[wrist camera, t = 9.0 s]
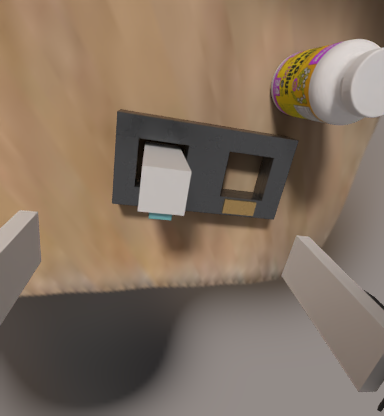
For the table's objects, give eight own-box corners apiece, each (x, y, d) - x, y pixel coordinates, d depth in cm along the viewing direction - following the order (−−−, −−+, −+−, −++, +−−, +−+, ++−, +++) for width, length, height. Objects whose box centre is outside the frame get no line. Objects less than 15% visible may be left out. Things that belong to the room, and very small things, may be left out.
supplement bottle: (294, 38, 29) (390, 4, 17) (334, 76, 31) (444, 68, 19) (256, 95, 31) (320, 98, 19) (297, 126, 33) (377, 147, 21)
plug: (145, 141, 31) (142, 165, 21) (179, 146, 32) (191, 171, 22) (141, 180, 33) (136, 219, 23) (173, 184, 34) (182, 223, 24)
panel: (120, 109, 29) (117, 111, 27) (286, 136, 33) (299, 141, 30) (115, 194, 33) (111, 204, 30) (264, 209, 37) (274, 220, 34)
